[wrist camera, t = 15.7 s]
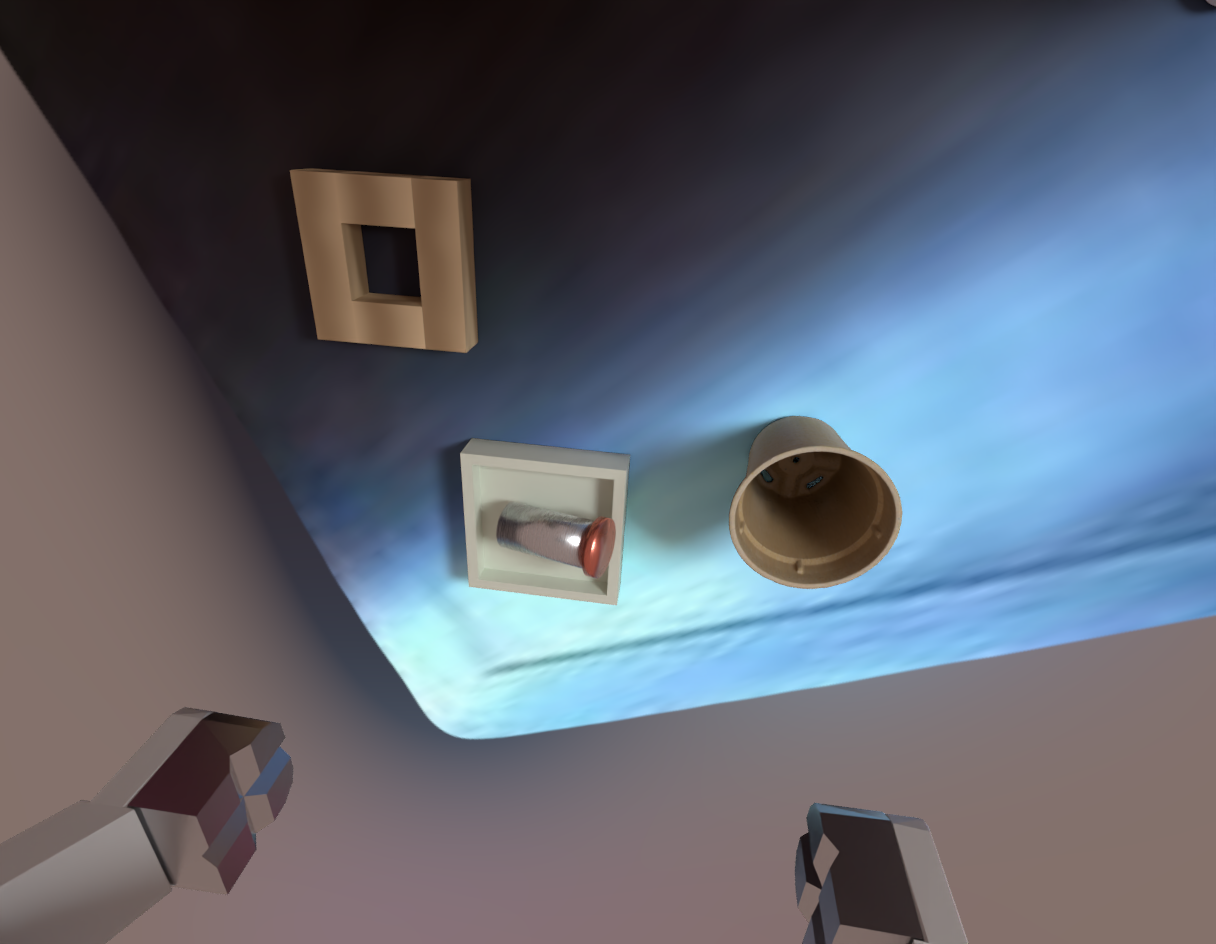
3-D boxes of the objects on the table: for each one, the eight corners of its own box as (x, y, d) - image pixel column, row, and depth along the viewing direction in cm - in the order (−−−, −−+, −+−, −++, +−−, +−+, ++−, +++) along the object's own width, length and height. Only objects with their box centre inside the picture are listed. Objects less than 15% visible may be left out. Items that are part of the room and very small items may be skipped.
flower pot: (699, 479, 45) (699, 547, 38) (771, 366, 41) (786, 418, 33) (813, 534, 46) (836, 612, 38) (896, 430, 42) (939, 494, 34)
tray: (630, 454, 45) (626, 470, 43) (620, 584, 50) (616, 605, 48) (471, 438, 46) (460, 453, 44) (478, 567, 51) (468, 586, 49)
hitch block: (470, 178, 38) (456, 181, 36) (478, 342, 43) (466, 352, 40) (312, 168, 39) (289, 170, 37) (336, 329, 43) (317, 339, 41)
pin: (522, 486, 47) (616, 507, 44) (524, 534, 49) (614, 557, 46) (491, 513, 43) (591, 537, 41) (495, 563, 45) (591, 590, 43)
